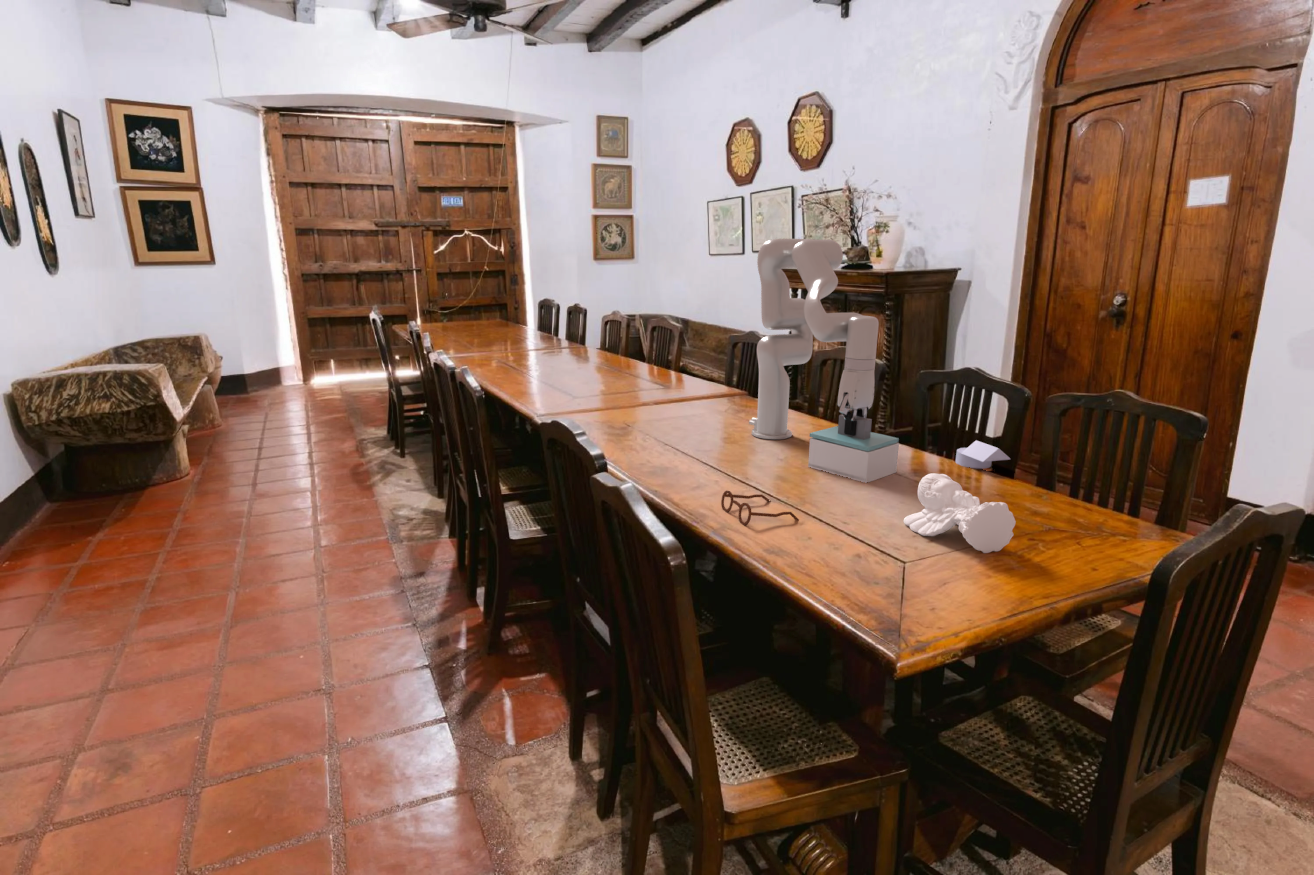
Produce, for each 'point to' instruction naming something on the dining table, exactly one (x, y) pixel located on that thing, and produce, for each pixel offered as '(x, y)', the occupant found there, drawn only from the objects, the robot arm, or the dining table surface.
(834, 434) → the lid
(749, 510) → the glasses
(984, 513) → the cherub figurine
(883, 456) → the tub
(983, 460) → the wedge on round base
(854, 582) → the dining table surface
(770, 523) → the dining table surface
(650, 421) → the dining table surface
